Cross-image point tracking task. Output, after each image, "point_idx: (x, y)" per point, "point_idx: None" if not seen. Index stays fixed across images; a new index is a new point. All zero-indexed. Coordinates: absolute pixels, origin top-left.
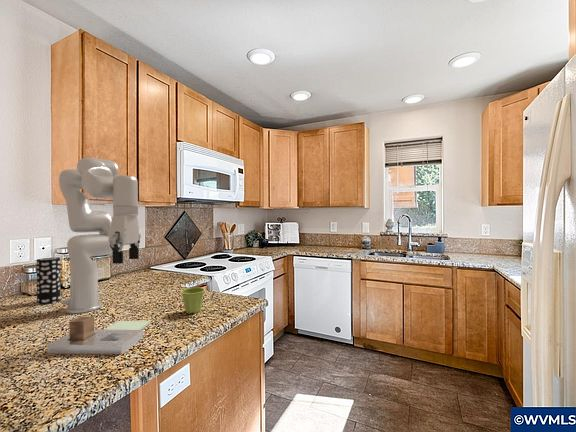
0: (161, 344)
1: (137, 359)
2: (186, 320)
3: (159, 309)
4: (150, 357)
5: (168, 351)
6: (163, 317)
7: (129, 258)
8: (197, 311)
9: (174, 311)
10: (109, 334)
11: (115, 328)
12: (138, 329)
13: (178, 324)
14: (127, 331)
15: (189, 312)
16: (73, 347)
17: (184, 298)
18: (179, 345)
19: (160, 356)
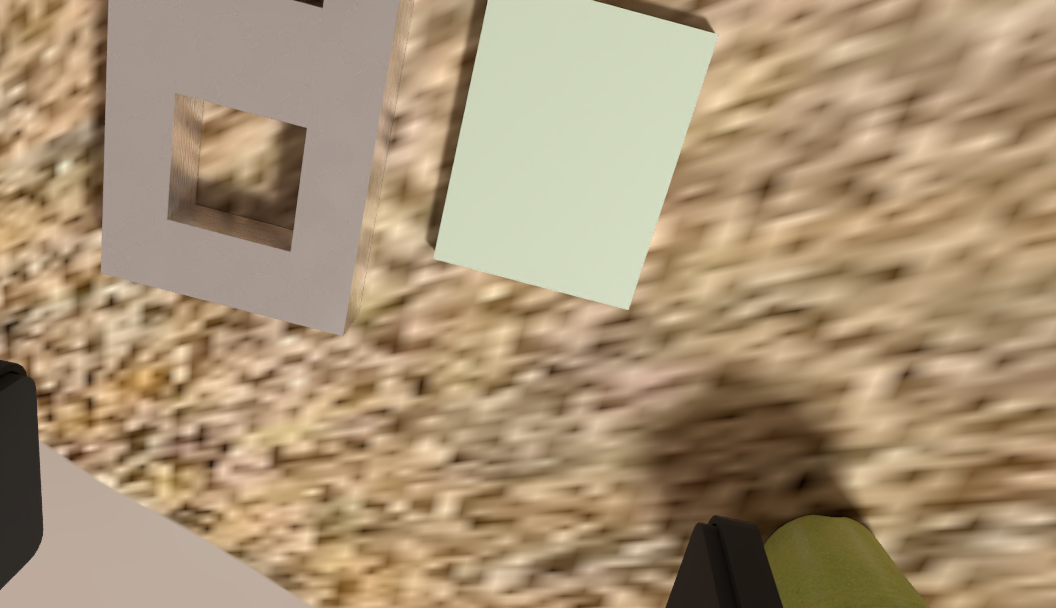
0: (247, 436)
1: (75, 353)
2: (619, 528)
3: (992, 306)
4: (97, 410)
5: (160, 480)
6: (742, 374)
7: (699, 526)
8: None
9: (871, 433)
10: (288, 122)
11: (524, 78)
12: (463, 266)
13: (552, 489)
14: (328, 239)
15: (766, 545)
16: None
17: (812, 597)
18: (227, 522)
19: (107, 453)
